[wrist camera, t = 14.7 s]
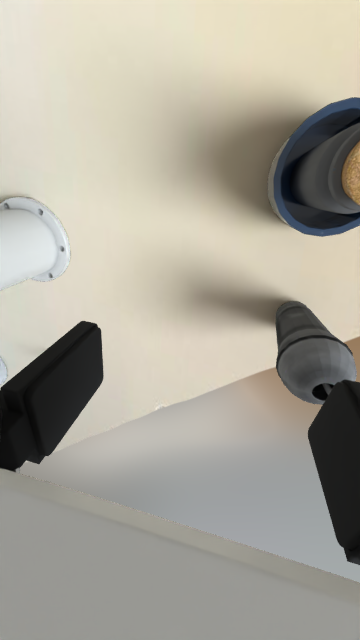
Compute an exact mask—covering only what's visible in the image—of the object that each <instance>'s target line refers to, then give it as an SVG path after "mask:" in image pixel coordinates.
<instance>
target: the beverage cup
mask: <svg viewBox="0 0 360 640" xmlns="http://www.w3.org/2000/svg"><path fill="white" fill-rule="evenodd" d="M276 333H277V344H278V356H277V362H276V369H277V372H278V375H279V376H280V378H281V380H282V381H283V383H284V385H285V386H286V387H287V388H288V390H289V391H290V392H291V393H292V394H294V395H295V396H297V397H298V398H300V399H302V400H303V401H306V402H309V403H313V404H322V405H323V404H324V402H325V401H326V399H327V397H328V395H329V394H330V392H331V390H332V389H333V387H334V385H335V384H336V383H337V382H341V381H342V380H345V379H346V380H351V381H355V379H356V367H355V362H354V359H353V355H352V352H351V350H350V349H349V348H348V346H347V345H346V344H345V343H343V342H342V341H340V340H339V339H338V338H336V337H335V336H333V335H332V334H331V333H330V332H329V331H328V330H327V328H326V327H325V326H324V325H323V324H322V323H321V322H320V320H319V319H318V318H317V317H316V316H315V315H314V314H313V313H312V311H311V310H310V309H308V308H307V307H306V305H304V304H303V303H300V302H288V303H285V304H283V305H282V306H281V307H280V308H279V309H278V310H277V313H276Z"/></svg>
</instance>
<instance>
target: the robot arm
mask: <svg viewBox="0 0 360 640" xmlns="http://www.w3.org/2000/svg"><path fill="white" fill-rule="evenodd" d="M69 261H70V244H69V240H68V237H67V234H66V232H65V229H64V228H63V226H62V224H61V222H60V221H59V220H58V218H57V217H56V216H55V214H54V213H53V212H52V211H50V210H49V209H48V208H47V207H46V206H44V205H43V204H42V203H40V202H38V201H36V200H34V199H31V198H27V197H12V198H9V199H6V200H4V201H3V202H2V203H0V291H1V290H3V289H6V288H8V287H11V286H13V285H15V284H18V283H20V282H23V281H25V280H27V279H32V280H36V281H42V282H45V281H51V280H53V279H56V278H57V277H59V276H61V275H62V274H63V273H64V272H65V270H66V269H67V267H68V264H69ZM102 381H103V359H102V339H101V329H100V328H98V326H97V324H95V323H91V322H86V321H81V322H80V323H78V324H77V325H76V326H75V327H74V328H72V329H71V330H70V331H69V332H68V333H66V334H65V335H64V336H63V337H61V338H60V339H59V340H58V341H57V342H55V343H54V344H53V345H52V346H51V347H49V348H48V349H47V350H46V351H45V352H43V353H42V354H41V355H40V356H38V357H37V358H36V359H35V360H34V361H32V362H31V363H30V364H29V365H28V366H26V367H25V368H24V369H23V370H21V371H20V372H19V373H18V374H17V375H15V376H14V377H13V378H12V379H11V380H9V381H8V382H7V383H6V384H5V385H3V386H2V387H1V390H0V640H360V583H359V582H356V581H353V580H350V579H347V578H344V577H341V576H338V575H335V574H332V573H329V572H326V571H323V570H320V569H317V568H314V567H311V566H308V565H305V564H302V563H299V562H296V561H293V560H290V559H287V558H284V557H281V556H278V555H274V554H271V553H268V552H265V551H262V550H259V549H256V548H253V547H250V546H247V545H244V544H241V543H238V542H234V541H231V540H228V539H225V538H222V537H219V536H216V535H213V534H210V533H207V532H204V531H201V530H198V529H195V528H191V527H188V526H185V525H182V524H179V523H176V522H173V521H170V520H166V519H164V518H160V517H157V516H154V515H151V514H148V513H145V512H142V511H139V510H136V509H132V508H129V507H126V506H123V505H120V504H117V503H113V502H110V501H107V500H104V499H101V498H97V497H95V496H91V495H88V494H85V493H82V492H79V491H76V490H72V489H69V488H66V487H63V486H60V485H56V484H53V483H50V482H47V481H43V480H40V479H36V478H33V477H30V476H26V475H23V474H20V467H21V466H22V465H23V463H24V462H25V461H26V460H27V461H30V462H33V463H37V464H40V462H41V461H42V460H43V458H44V457H45V456H49V455H50V454H51V453H52V452H53V451H54V449H55V448H56V446H57V445H58V444H59V442H60V441H61V439H62V438H63V437H64V435H65V434H66V432H67V431H68V430H69V428H70V427H71V425H72V424H73V423H74V421H75V420H76V418H77V417H78V416H79V414H80V413H81V411H82V410H83V409H84V407H85V406H86V404H87V403H88V402H89V400H90V399H91V397H92V396H93V395H94V393H95V392H96V390H97V389H98V388H99V386H100V385H101V383H102ZM308 439H309V442H310V446H311V449H312V453H313V457H314V460H315V463H316V467H317V471H318V474H319V478H320V481H321V485H322V488H323V492H324V496H325V499H326V503H327V506H328V510H329V513H330V517H331V520H332V524H333V527H334V531H335V535H336V538H337V541H338V543H339V544H340V545H341V546H342V547H344V551H345V554H346V558H347V561H349V562H352V563H355V564H358V565H360V383H359V382H355V381H351V380H346V379H345V380H342V381H341V382H337V383H336V384H335V385H334V387H333V389H332V390H331V392H330V394H329V395H328V397H327V399H326V401H325V402H324V404H323V406H322V407H321V409H320V411H319V412H318V414H317V416H316V417H315V419H314V421H313V422H312V424H311V426H310V427H309V430H308Z"/></svg>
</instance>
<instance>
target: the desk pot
mask: <svg viewBox="0 0 360 640" xmlns="http://www.w3.org/2000/svg"><path fill="white" fill-rule="evenodd" d="M358 123H360V98H356V97H354V98H353V97H352V98H349V99H345V100H342V101H338V102H334V103H331V104H329V105H327V106H326V107H324V108H322V109H321V110H319V111H318V112H316V113H314V114H313V115H311V116H310V117H308V118H307V119H306V120H305V121H304V122H303V123H302V125H301V126H300V127H299V128H298V129H297V130H296V131H295V132H294V133H293V134H292V135H291V136H290V137H289V138H288V139H287V141H286V142H285V143H284V144H283V145H282V146H281V148H280V149H279V151H278V153H277V154H276V156H275V158H274V160H273V162H272V165H271V168H270V171H269V176H268V183H267V191H268V198H269V201H270V204H271V206H272V209H273V210H274V212H275V213H276V215H277V216H278V217H279V218H280V219H281V220H282V221H283V222H285V223H286V224H288V225H289V226H291V227H292V228H294V229H296V230H298V231H300V232H302V233H304V234H308V235H314V236H329V235H336V234H340V233H344V232H346V231H348V230H350V229H353V228H355V227H357V226H359V225H360V212H357V213H351V214H341V213H335V212H330V211H325V210H320V209H316V208H312V207H308V206H305V205H302V204H300V203H299V202H298V201H297V200H296V199H295V198H294V197H293V195H292V192H291V188H290V179H291V174H292V171H293V169H294V167H295V165H296V164H297V162H298V161H299V159H300V158H301V157H302V156H303V155H304V154H305V153H307V152H308V151H310V150H311V149H313V148H314V147H316V146H318V145H319V144H321V143H323V142H324V141H326V140H328V139H329V138H331V137H333V136H335V135H336V134H338V133H340V132H342V131H344V130H345V129H347V128H349V127H351V126H353V125H356V124H358Z"/></svg>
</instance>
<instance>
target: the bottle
mask: <svg viewBox="0 0 360 640" xmlns="http://www.w3.org/2000/svg"><path fill="white" fill-rule="evenodd" d="M290 188H291V192H292V195H293V197H294V198H295V199H296V200H297V201H298V202H299V203H300V204H302V205H305V206H308V207H312V208H316V209H320V210H325V211H330V212H335V213H341V214H351V213H357V212H360V123H358V124H356V125H353V126H351V127H349V128H347V129H345V130H344V131H342V132H340V133H338V134H336V135H335V136H333V137H331V138H329V139H328V140H326V141H324V142H323V143H321V144H319V145H318V146H316V147H314V148H313V149H311V150H310V151H308V152H307V153H305V154H304V155H303V156H302V157H301V158H300V159H299V161H298V162H297V164H296V165H295V167H294V169H293V171H292V174H291V179H290Z"/></svg>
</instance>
